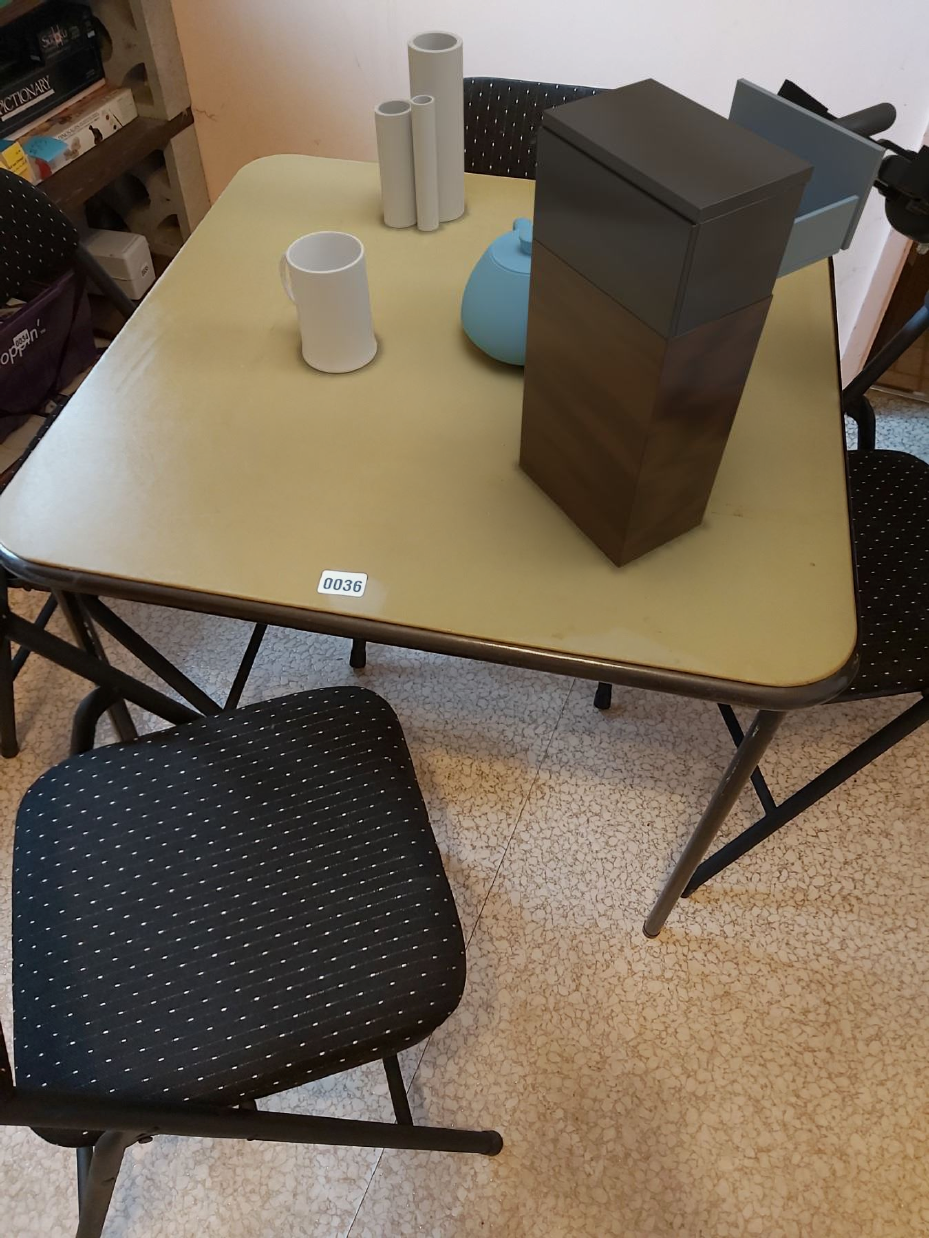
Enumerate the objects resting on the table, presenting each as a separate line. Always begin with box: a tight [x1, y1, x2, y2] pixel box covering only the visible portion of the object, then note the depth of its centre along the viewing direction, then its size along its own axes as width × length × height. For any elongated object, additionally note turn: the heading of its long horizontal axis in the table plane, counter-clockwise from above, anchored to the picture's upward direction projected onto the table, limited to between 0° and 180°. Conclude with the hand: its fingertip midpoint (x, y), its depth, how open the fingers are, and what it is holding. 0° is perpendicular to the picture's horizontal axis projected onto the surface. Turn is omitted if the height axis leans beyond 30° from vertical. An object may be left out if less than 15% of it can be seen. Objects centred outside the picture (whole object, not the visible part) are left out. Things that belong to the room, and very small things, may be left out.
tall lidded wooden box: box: [518, 77, 815, 568], centre depth 69 cm, size 10×16×33 cm, turn 32°
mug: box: [278, 230, 378, 374], centre depth 92 cm, size 12×8×12 cm
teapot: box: [460, 217, 533, 366], centre depth 92 cm, size 20×20×13 cm
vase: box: [373, 30, 466, 232], centre depth 105 cm, size 11×7×20 cm, turn 126°
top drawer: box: [727, 77, 898, 280], centre depth 64 cm, size 20×14×7 cm
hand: (842, 130), depth 64 cm, fingers open, 13 cm apart
